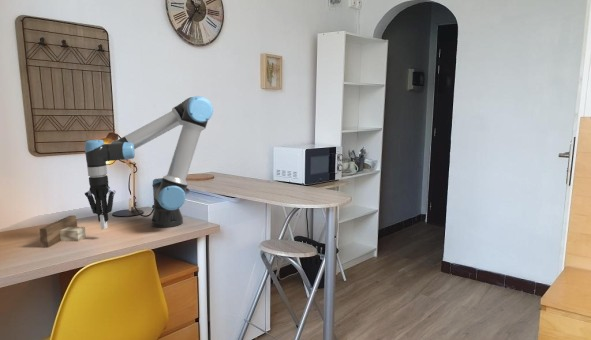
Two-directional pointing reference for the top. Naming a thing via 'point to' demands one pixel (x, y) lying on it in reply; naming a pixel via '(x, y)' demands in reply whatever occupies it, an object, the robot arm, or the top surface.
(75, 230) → the beech block
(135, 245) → the top surface
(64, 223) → the walnut board
